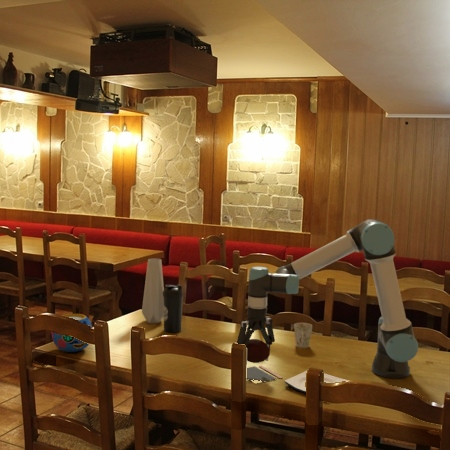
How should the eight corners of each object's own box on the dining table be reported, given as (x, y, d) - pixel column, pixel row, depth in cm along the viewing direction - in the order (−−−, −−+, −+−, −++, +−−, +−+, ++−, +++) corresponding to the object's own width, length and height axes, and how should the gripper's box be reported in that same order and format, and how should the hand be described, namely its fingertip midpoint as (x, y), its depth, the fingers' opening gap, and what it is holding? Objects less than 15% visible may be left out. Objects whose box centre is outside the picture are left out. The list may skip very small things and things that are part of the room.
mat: (276, 379, 222) (276, 378, 222) (255, 384, 217) (255, 383, 216) (254, 367, 234) (254, 366, 234) (234, 371, 229) (234, 370, 229)
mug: (311, 343, 267) (311, 323, 266) (312, 352, 255) (313, 330, 254) (293, 342, 268) (294, 322, 267) (293, 351, 256) (294, 329, 254)
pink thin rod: (282, 378, 223) (282, 377, 223) (280, 378, 223) (280, 378, 223) (261, 366, 236) (261, 365, 236) (258, 366, 235) (258, 365, 235)
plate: (355, 387, 217) (355, 381, 216) (326, 403, 202) (326, 396, 201) (310, 373, 230) (310, 367, 230) (280, 387, 215) (280, 380, 215)
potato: (244, 356, 231) (245, 334, 230) (272, 361, 227) (273, 338, 225) (236, 363, 223) (237, 340, 222) (265, 368, 219) (266, 344, 218)
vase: (156, 317, 306) (157, 256, 302) (169, 322, 297) (170, 259, 293) (137, 320, 298) (137, 258, 294) (149, 325, 289) (150, 262, 285)
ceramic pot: (60, 360, 237) (60, 325, 235) (46, 348, 251) (45, 315, 250) (99, 352, 247) (99, 319, 246) (83, 341, 262) (83, 309, 260)
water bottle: (160, 328, 285) (161, 283, 283) (180, 327, 288) (181, 282, 286) (164, 334, 276) (165, 287, 273) (184, 332, 279) (185, 286, 276)
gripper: (274, 301, 231) (272, 354, 234) (228, 307, 220) (226, 363, 222) (285, 305, 225) (283, 360, 227) (238, 311, 213) (236, 369, 216)
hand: (254, 361), depth 225 cm, fingers closed on potato, 9 cm apart
